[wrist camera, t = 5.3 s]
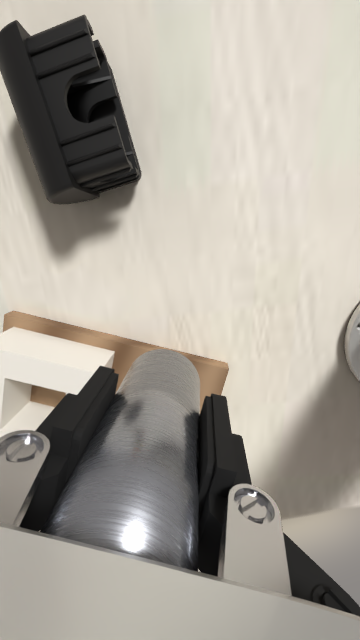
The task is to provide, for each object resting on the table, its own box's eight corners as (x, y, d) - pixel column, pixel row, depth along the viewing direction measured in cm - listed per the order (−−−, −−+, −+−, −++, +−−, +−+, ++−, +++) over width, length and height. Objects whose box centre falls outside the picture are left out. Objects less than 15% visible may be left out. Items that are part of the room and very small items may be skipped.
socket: (115, 351, 30) (98, 373, 25) (98, 438, 33) (80, 473, 28) (13, 326, 30) (-23, 344, 25) (5, 415, 32) (-29, 446, 28)
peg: (208, 359, 14) (223, 638, 4) (190, 423, 15) (168, 773, 5) (134, 340, 14) (-18, 578, 4) (120, 406, 15) (-30, 723, 5)
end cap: (28, 86, 26) (-30, 35, 19) (107, 55, 25) (75, -9, 18) (71, 208, 28) (32, 200, 22) (145, 184, 27) (127, 168, 21)
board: (227, 363, 31) (228, 369, 30) (197, 460, 34) (197, 470, 33) (13, 310, 31) (4, 314, 30) (4, 413, 34) (-5, 421, 33)
